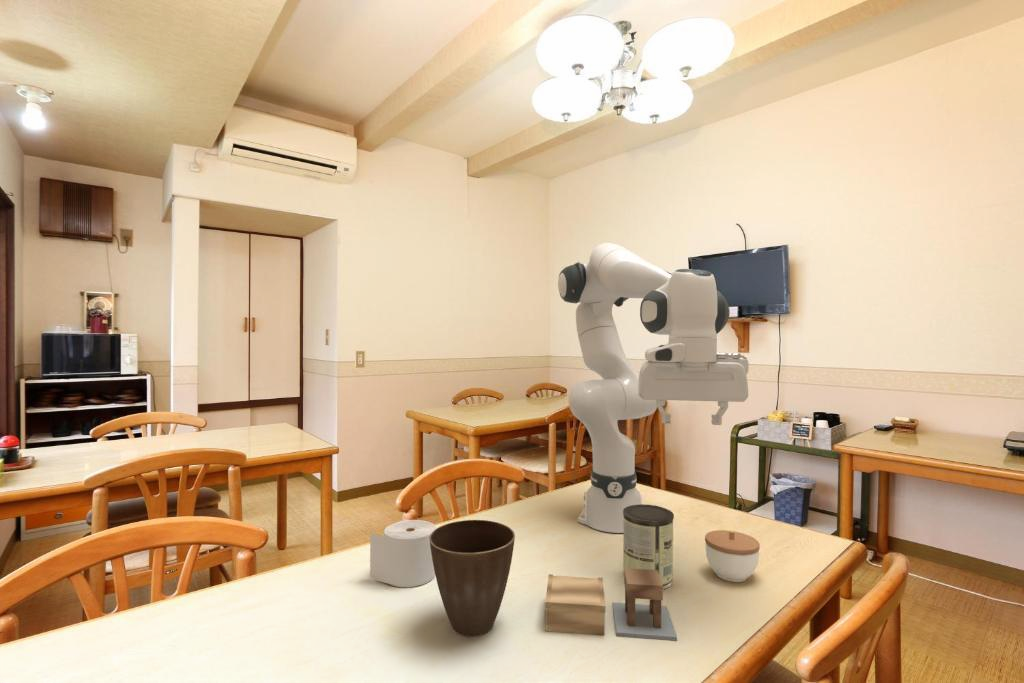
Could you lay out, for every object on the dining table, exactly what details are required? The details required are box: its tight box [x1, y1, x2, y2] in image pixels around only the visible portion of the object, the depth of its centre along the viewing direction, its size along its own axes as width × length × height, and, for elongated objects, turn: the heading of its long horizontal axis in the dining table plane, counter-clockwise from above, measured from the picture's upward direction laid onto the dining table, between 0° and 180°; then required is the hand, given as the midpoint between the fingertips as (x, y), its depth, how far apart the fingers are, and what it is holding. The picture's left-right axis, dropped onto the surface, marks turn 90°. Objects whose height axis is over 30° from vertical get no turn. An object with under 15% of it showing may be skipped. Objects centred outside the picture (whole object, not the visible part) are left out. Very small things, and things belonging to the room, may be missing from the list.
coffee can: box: [622, 503, 675, 590], centre depth 110 cm, size 10×10×14 cm
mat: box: [611, 602, 678, 641], centre depth 94 cm, size 10×10×1 cm
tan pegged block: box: [623, 568, 664, 628], centre depth 94 cm, size 6×6×8 cm
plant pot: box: [429, 519, 516, 637], centre depth 92 cm, size 15×15×16 cm
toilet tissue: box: [369, 519, 437, 588], centre depth 110 cm, size 11×12×10 cm
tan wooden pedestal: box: [545, 573, 606, 636], centre depth 95 cm, size 10×10×5 cm
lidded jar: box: [704, 529, 760, 583], centre depth 112 cm, size 11×11×9 cm
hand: (691, 423), depth 102 cm, fingers open, 8 cm apart
